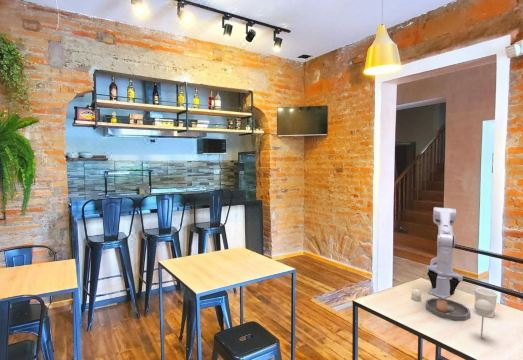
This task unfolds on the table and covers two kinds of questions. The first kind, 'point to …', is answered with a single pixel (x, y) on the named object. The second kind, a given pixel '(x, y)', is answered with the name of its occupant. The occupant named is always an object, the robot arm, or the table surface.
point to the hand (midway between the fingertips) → (442, 291)
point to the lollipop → (483, 309)
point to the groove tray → (449, 310)
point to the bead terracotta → (441, 306)
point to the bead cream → (416, 294)
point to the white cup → (486, 298)
